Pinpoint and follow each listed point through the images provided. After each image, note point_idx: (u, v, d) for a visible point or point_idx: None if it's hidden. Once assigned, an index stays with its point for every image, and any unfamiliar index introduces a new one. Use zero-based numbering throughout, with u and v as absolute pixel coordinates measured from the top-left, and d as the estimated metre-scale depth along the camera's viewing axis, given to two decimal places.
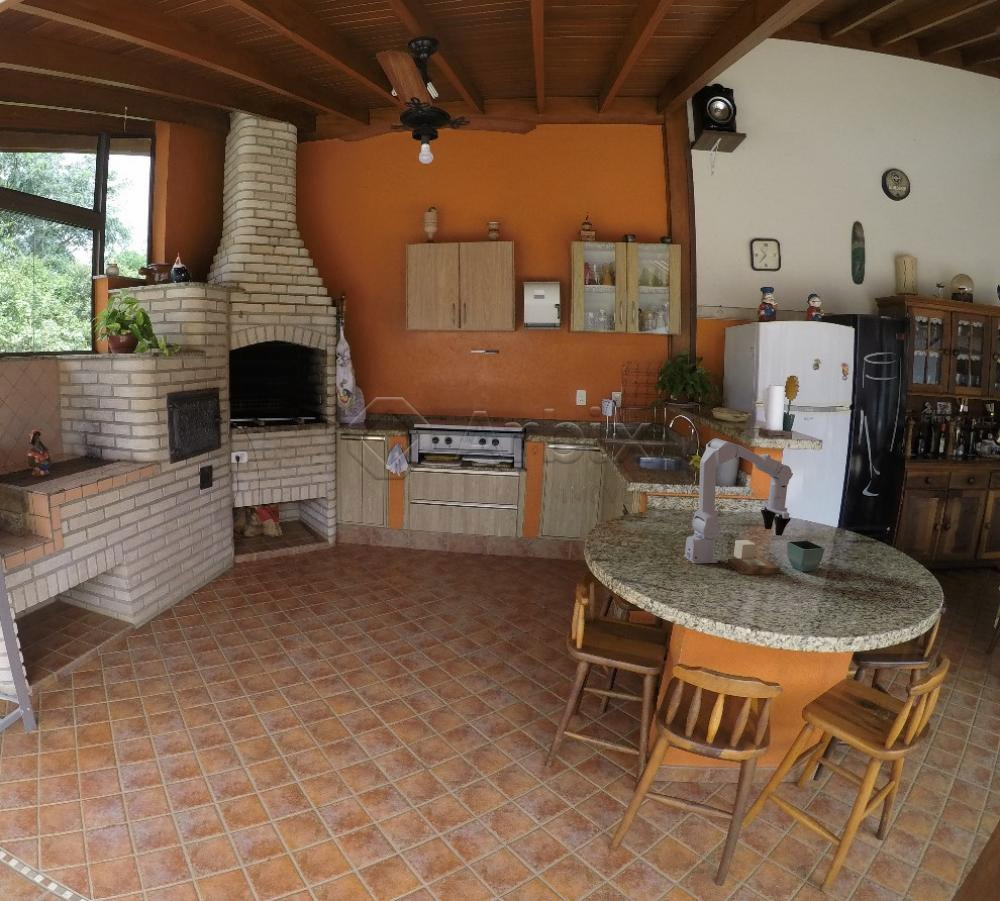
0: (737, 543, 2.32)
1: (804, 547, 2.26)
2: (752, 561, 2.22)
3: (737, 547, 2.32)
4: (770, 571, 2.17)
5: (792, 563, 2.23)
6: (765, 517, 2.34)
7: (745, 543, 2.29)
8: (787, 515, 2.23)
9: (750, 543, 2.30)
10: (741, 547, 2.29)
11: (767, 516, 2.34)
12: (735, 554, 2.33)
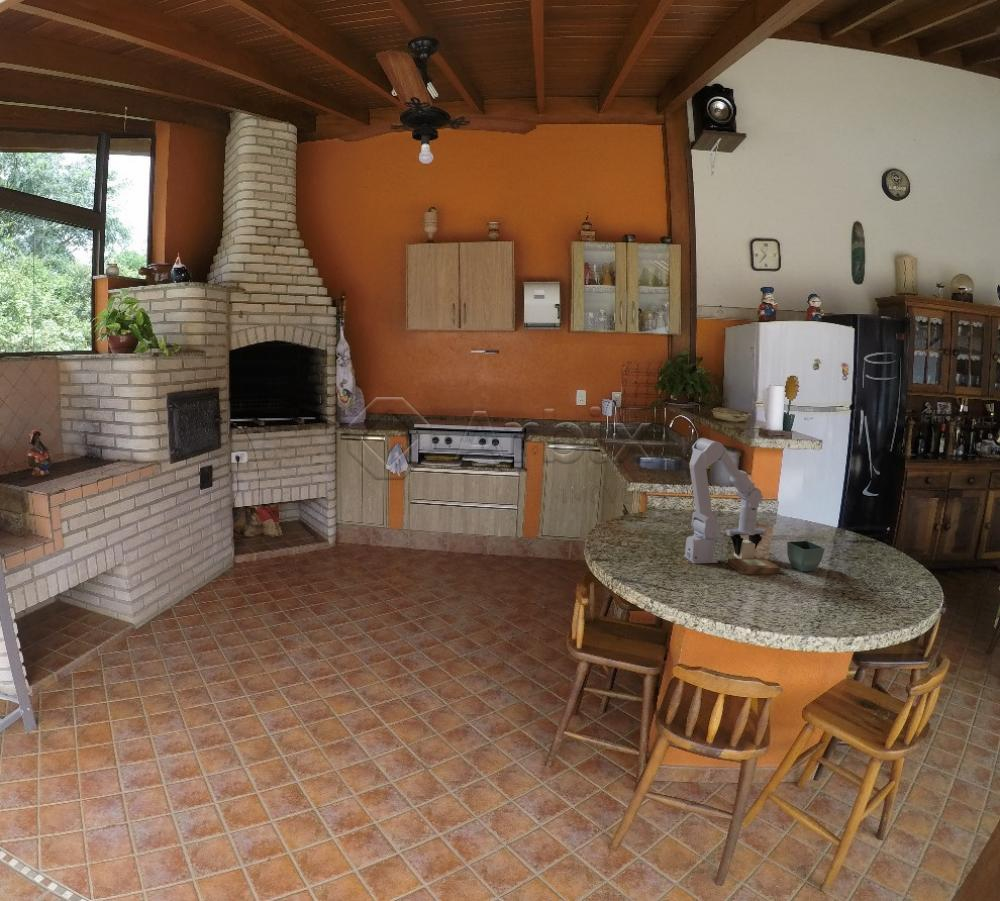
0: None
1: (804, 547, 2.26)
2: (752, 561, 2.22)
3: None
4: (770, 571, 2.17)
5: (792, 563, 2.23)
6: (749, 540, 2.33)
7: (745, 543, 2.29)
8: (728, 532, 2.29)
9: (750, 543, 2.30)
10: (741, 547, 2.29)
11: (750, 540, 2.32)
12: (735, 554, 2.33)
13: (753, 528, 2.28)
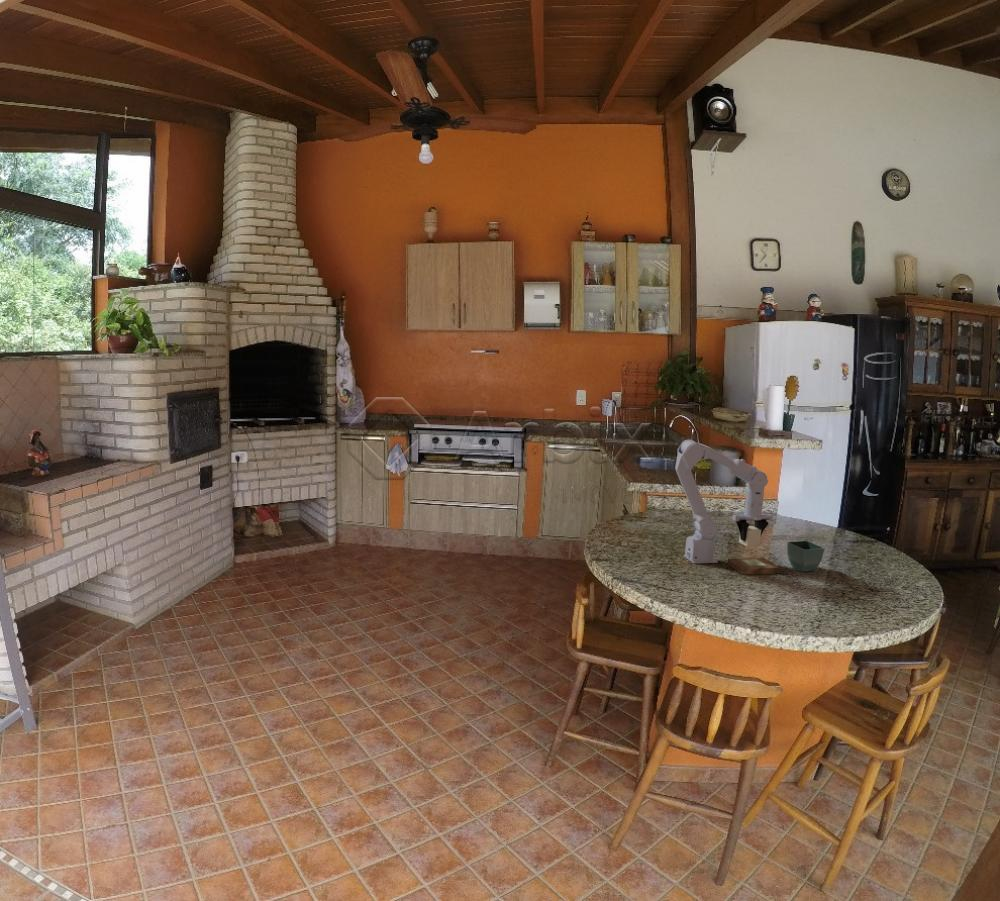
0: None
1: (804, 547, 2.26)
2: (752, 561, 2.22)
3: None
4: (770, 571, 2.17)
5: (792, 563, 2.23)
6: (755, 526, 2.27)
7: (750, 529, 2.24)
8: (734, 517, 2.23)
9: (756, 529, 2.24)
10: (747, 533, 2.24)
11: (756, 525, 2.27)
12: (740, 540, 2.27)
13: (759, 513, 2.22)
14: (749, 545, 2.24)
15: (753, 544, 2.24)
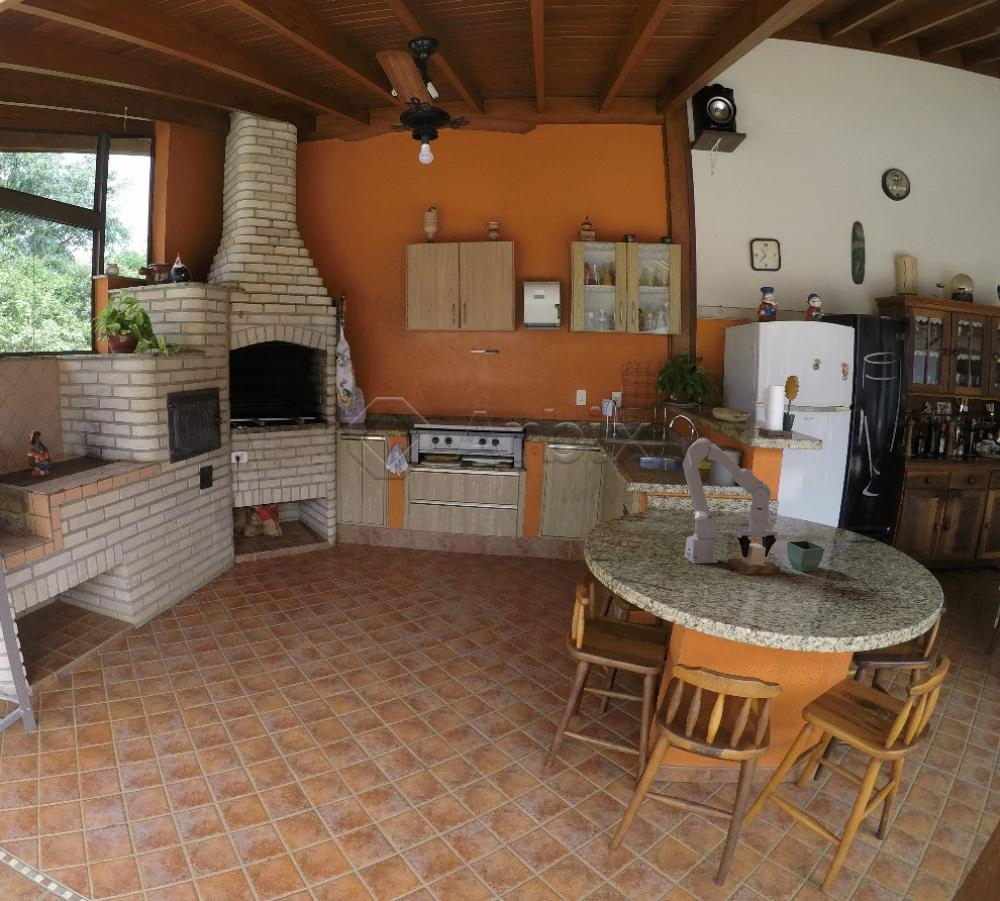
0: None
1: (804, 547, 2.26)
2: None
3: None
4: (770, 571, 2.17)
5: (792, 563, 2.23)
6: (763, 542, 2.22)
7: (755, 547, 2.18)
8: (738, 534, 2.17)
9: (760, 547, 2.19)
10: (751, 551, 2.18)
11: (764, 542, 2.21)
12: (744, 558, 2.22)
13: (764, 529, 2.16)
14: (753, 563, 2.18)
15: (757, 562, 2.18)
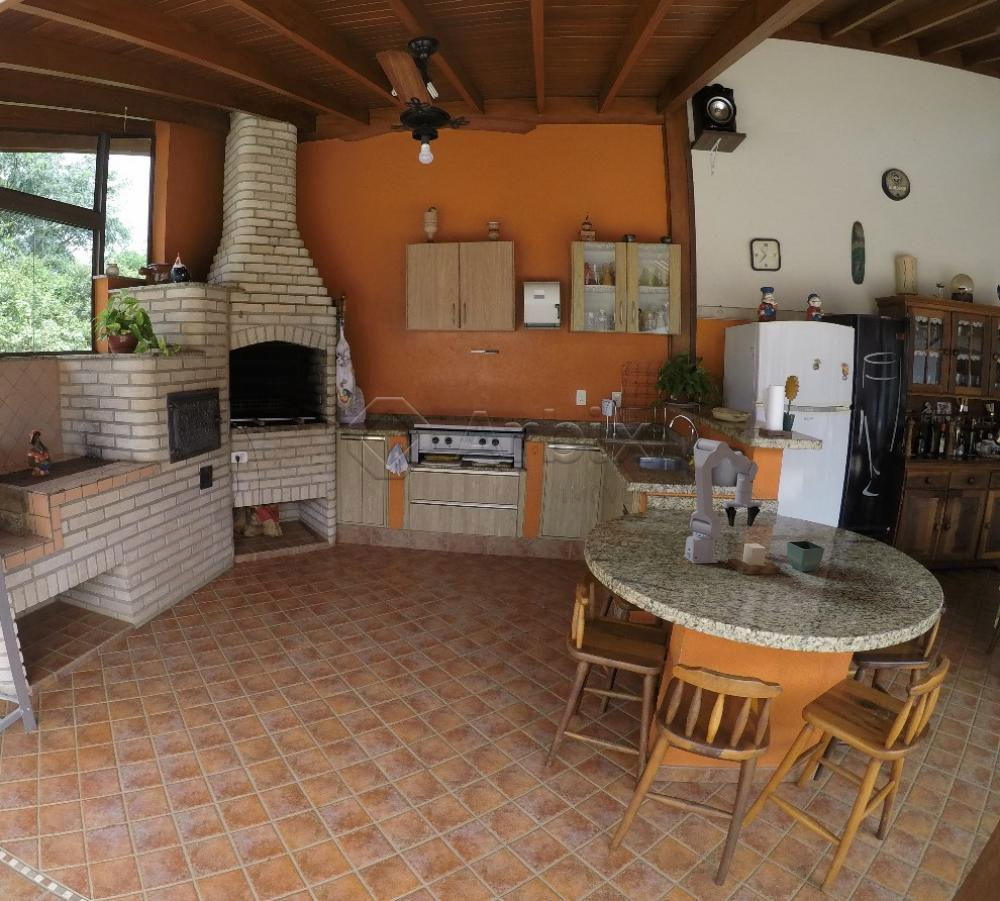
0: (746, 546, 2.21)
1: (804, 547, 2.26)
2: None
3: (746, 551, 2.21)
4: (770, 571, 2.17)
5: (792, 563, 2.23)
6: (748, 513, 2.41)
7: (755, 547, 2.18)
8: (725, 504, 2.37)
9: (760, 547, 2.19)
10: (751, 551, 2.18)
11: (749, 512, 2.40)
12: (744, 558, 2.22)
13: (749, 500, 2.36)
14: (753, 563, 2.18)
15: (757, 562, 2.18)
